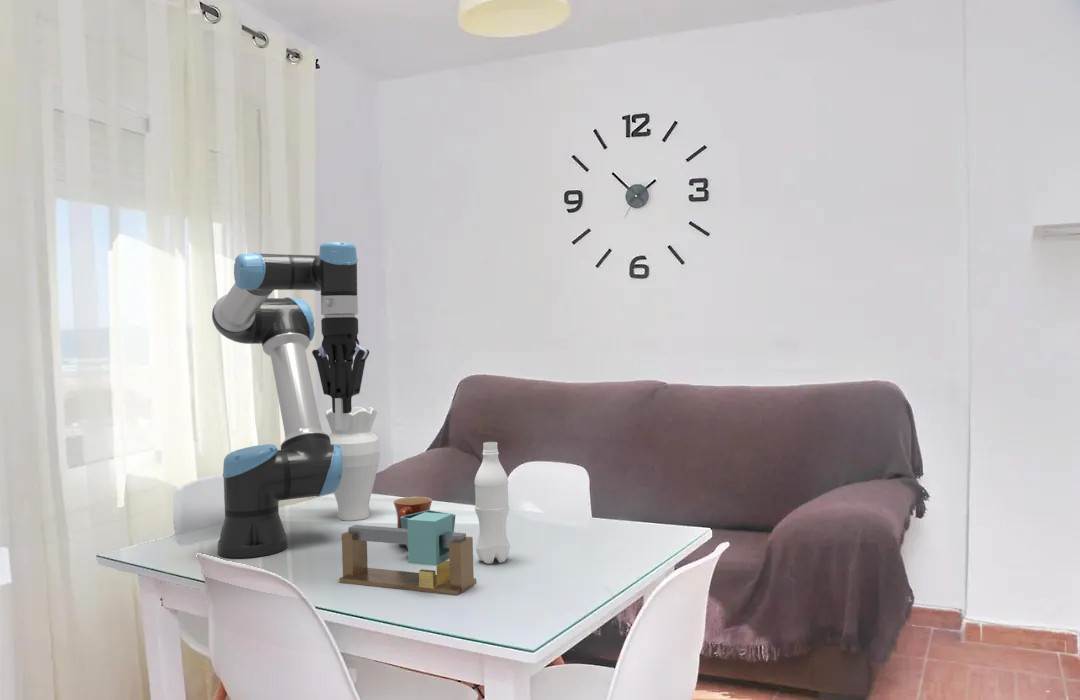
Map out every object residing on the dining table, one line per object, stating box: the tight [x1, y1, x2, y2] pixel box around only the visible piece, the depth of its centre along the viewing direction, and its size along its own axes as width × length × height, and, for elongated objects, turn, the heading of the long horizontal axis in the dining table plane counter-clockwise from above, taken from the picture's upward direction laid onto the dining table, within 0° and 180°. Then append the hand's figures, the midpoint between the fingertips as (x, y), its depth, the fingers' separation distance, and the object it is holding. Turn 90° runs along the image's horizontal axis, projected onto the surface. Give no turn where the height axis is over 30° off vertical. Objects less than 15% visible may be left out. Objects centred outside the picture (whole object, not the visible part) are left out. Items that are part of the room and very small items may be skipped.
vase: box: [324, 406, 381, 522], centre depth 220 cm, size 15×15×29 cm
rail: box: [338, 524, 477, 596], centre depth 160 cm, size 26×8×10 cm, turn 68°
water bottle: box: [473, 441, 511, 565], centre depth 174 cm, size 7×7×25 cm
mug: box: [393, 496, 433, 549], centre depth 188 cm, size 12×9×10 cm
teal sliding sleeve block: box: [407, 512, 453, 567], centre depth 158 cm, size 6×7×8 cm
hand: (342, 428), depth 173 cm, fingers closed
